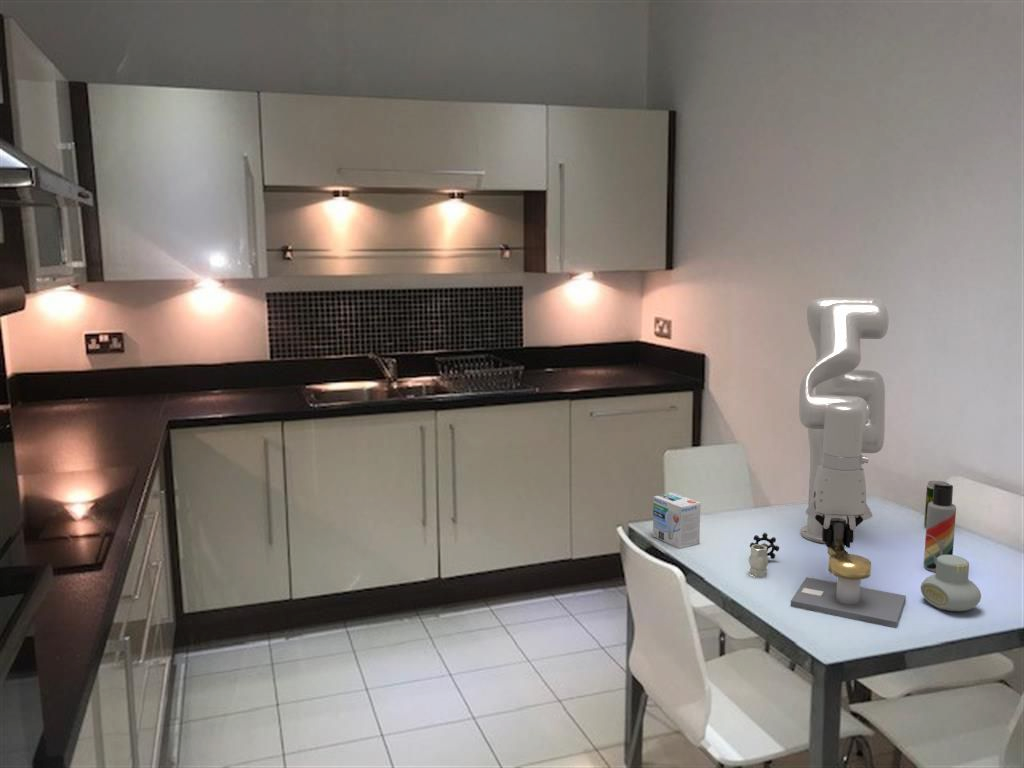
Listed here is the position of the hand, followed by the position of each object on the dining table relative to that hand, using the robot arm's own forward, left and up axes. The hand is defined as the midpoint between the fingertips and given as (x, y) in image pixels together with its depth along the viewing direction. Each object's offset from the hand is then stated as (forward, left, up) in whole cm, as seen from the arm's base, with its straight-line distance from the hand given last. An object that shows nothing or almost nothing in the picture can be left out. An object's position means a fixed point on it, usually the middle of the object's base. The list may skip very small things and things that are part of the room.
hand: (837, 544), depth 181 cm
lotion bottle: (-23, +18, -10) cm, 31 cm away
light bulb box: (-12, -40, -11) cm, 44 cm away
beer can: (-52, +15, -10) cm, 55 cm away
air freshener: (-3, +22, -11) cm, 24 cm away
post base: (+6, +4, -10) cm, 12 cm away
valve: (-4, -17, -11) cm, 21 cm away
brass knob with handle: (+4, +2, -3) cm, 6 cm away
